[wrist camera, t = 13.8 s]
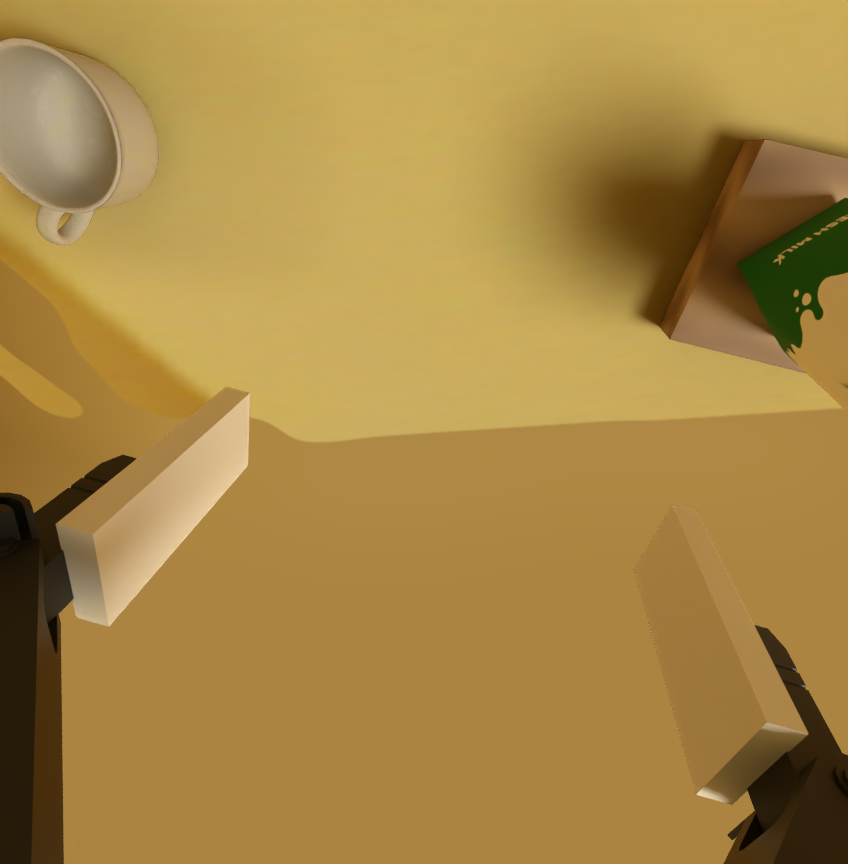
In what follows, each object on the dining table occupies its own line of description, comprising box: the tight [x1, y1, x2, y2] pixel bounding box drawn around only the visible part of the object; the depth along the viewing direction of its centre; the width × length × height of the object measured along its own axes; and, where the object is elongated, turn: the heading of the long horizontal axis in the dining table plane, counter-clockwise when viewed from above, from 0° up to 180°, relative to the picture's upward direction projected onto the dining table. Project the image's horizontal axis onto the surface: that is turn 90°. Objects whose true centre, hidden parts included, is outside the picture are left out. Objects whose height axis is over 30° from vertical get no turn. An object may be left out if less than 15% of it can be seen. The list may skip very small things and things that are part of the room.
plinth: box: [659, 139, 848, 373], centre depth 38 cm, size 14×14×4 cm
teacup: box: [0, 38, 159, 246], centre depth 40 cm, size 14×11×8 cm
